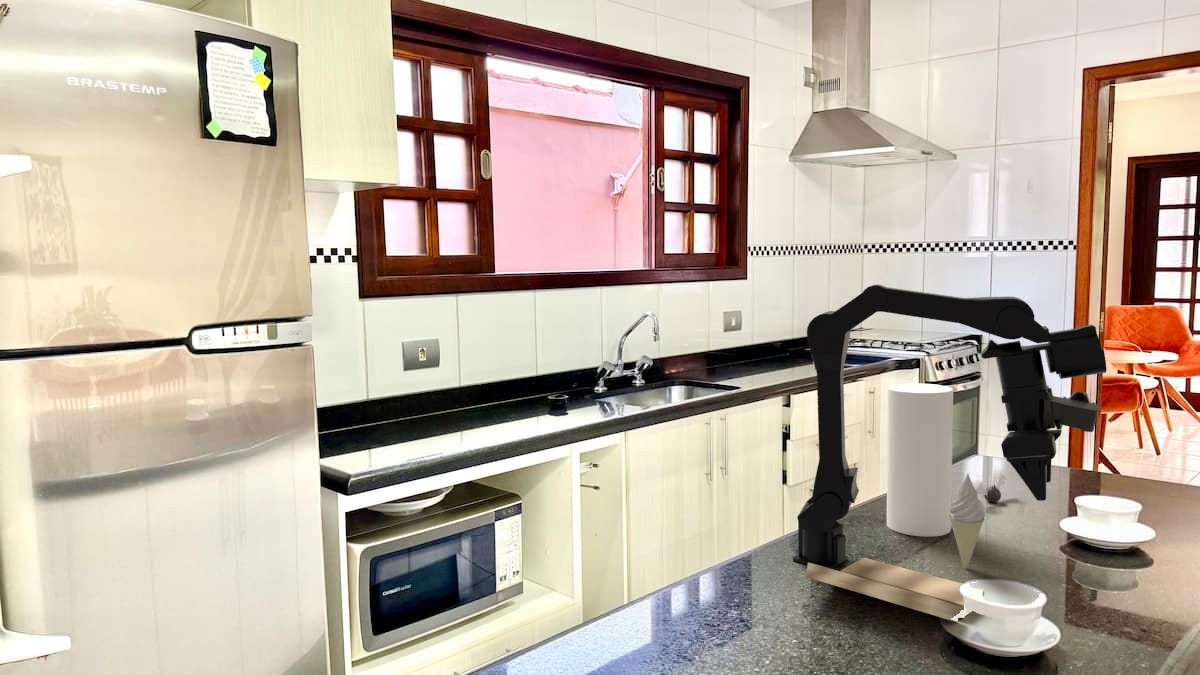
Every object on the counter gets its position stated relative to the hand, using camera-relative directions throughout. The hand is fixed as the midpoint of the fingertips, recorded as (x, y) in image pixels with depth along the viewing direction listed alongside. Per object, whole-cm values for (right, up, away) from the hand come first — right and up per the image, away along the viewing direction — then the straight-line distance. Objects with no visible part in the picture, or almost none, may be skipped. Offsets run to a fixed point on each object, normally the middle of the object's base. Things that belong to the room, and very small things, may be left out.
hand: (1044, 490), depth 117 cm
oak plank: (-26, -14, -6) cm, 30 cm away
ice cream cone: (-7, -14, +9) cm, 18 cm away
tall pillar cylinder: (-7, -12, +29) cm, 32 cm away
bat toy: (+13, -10, +42) cm, 45 cm away
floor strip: (-19, -15, +1) cm, 24 cm away
